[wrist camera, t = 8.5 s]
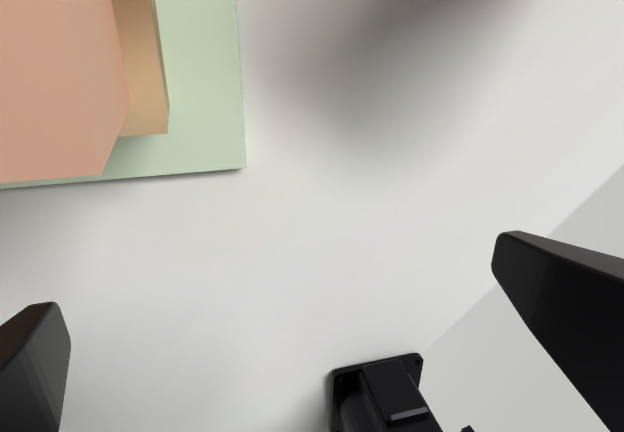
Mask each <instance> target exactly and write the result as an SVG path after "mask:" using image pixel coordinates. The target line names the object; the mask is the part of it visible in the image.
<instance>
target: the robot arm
mask: <svg viewBox="0 0 624 432" xmlns="http://www.w3.org/2000/svg"><path fill="white" fill-rule="evenodd" d="M491 268H492V272H493V275H494V277H495V278H496V280H497V281H498V283H499V284H500V286H501V287H502V289H503V290H504V292H505V293H506V295H507V296H508V298H509V300H510V301H511V303H512V304H513V306H514V307H515V309H516V310H517V312H518V313H519V315H520V316H521V318H522V320H523V321H524V323H525V324H526V325H527V327H528V328H529V330H530V331H531V332H532V334H533V335H534V336H535V338H536V339H537V340H538V341H539V343H540V344H541V345H542V346H543V348H544V349H545V350H546V351H547V353H548V354H549V355H550V356H551V358H552V359H553V360H554V361H555V363H556V364H557V365H558V366H559V368H560V369H561V370H562V372H563V373H564V374H565V375H566V377H567V378H568V379H569V380H570V382H571V383H572V384H573V385H574V387H575V388H576V389H577V390H578V392H579V393H580V394H581V395H582V397H583V398H584V399H585V400H586V402H587V403H588V404H589V405H590V407H591V408H592V409H593V410H594V412H595V413H596V414H597V415H598V417H599V418H600V419H601V420H602V422H603V423H604V424H605V425H606V427H607V428H608V429H609V430H610V432H624V259H622V258H619V257H615V256H611V255H607V254H604V253H600V252H596V251H592V250H589V249H585V248H581V247H577V246H574V245H570V244H567V243H563V242H559V241H555V240H552V239H548V238H544V237H541V236H537V235H533V234H529V233H526V232H522V231H509V232H503V233H501V234H499V235H498V237H497V239H496V243H495V248H494V253H493V258H492V263H491ZM70 351H71V341H70V336H69V333H68V330H67V327H66V324H65V321H64V319H63V316H62V313H61V310H60V307H59V306H58V304H57V303H55V302H45V303H38V304H32V305H29V306H27V307H26V308H24V309H23V310H22V311H20V312H19V313H18V314H16V315H15V316H13V317H12V318H11V319H9V320H8V321H7V322H5V323H4V324H2V325H1V326H0V432H58V431H59V426H60V421H61V415H62V408H63V400H64V393H65V386H66V379H67V372H68V365H69V358H70ZM422 366H423V358H422V357H421V355H420V354H419V353H413V354H408V355H403V356H398V357H394V358H389V359H384V360H379V361H374V362H369V363H365V364H360V365H355V366H350V367H345V368H340V369H337V370H335V371H334V372H333V373H332V377H331V399H330V420H329V432H443V431H442V430H441V427H440V426H439V424H438V422H437V421H436V419H435V417H434V416H433V414H432V412H431V410H430V409H429V407H428V405H427V403H426V401H425V400H424V398H423V396H422V394H421V393H420V391H419V390H418V388H419V382H420V377H421V371H422ZM461 430H462V431H461V432H474V431H473V429H472V428H471V426H470V425H469V426H467V427H465V428H463V429H461Z"/></svg>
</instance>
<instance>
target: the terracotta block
mask: <svg viewBox="0 0 624 432" xmlns="http://www.w3.org/2000/svg"><path fill="white" fill-rule="evenodd" d="M130 105H131V103H130V97H129V92H128V86H127V81H126V76H125V70H124V65H123V59H122V54H121V48H120V43H119V38H118V32H117V27H116V21H115V16H114V10H113V5H112V0H0V183H7V182H19V181H31V180H43V179H55V178H67V177H79V176H91V175H102V172H103V170H104V167H105V165H106V163H107V160H108V158H109V156H110V153H111V151H112V148H113V146H114V144H115V141H116V139H117V136H118V134H119V132H120V129H121V127H122V124H123V122H124V120H125V117H126V115H127V113H128V110H129V108H130Z"/></svg>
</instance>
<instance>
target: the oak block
mask: <svg viewBox="0 0 624 432" xmlns="http://www.w3.org/2000/svg"><path fill="white" fill-rule="evenodd" d="M112 5H113V10H114V16H115V21H116V27H117V32H118V38H119V43H120V48H121V54H122V59H123V65H124V70H125V76H126V81H127V86H128V92H129V97H130V103H131V105H130V108H129V110H128V113H127V115H126V117H125V120H124V122H123V124H122V127H121V129H120V132H119V134H118V136H117V137H124V136H140V135H155V134H168V122H169V110H170V103H169V96H168V89H167V82H166V75H165V67H164V60H163V53H162V46H161V39H160V32H159V25H158V18H157V11H156V4H155V0H112Z"/></svg>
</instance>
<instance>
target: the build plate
mask: <svg viewBox="0 0 624 432" xmlns="http://www.w3.org/2000/svg"><path fill="white" fill-rule="evenodd" d="M155 4H156V11H157V18H158V25H159V32H160V39H161V46H162V53H163V60H164V67H165V75H166V82H167V89H168V96H169V103H170V110H169V122H168V134H155V135H140V136H124V137H117V139H116V141H115V144H114V146H113V148H112V151H111V153H110V156H109V158H108V160H107V163H106V165H105V167H104V170H103V172H102V175H91V176H79V177H67V178H55V179H43V180H31V181H19V182H7V183H0V189H4V188H15V187H27V186H39V185H50V184H62V183H74V182H86V181H97V180H109V179H121V178H133V177H144V176H156V175H168V174H180V173H191V172H203V171H215V170H226V169H238V168H247V161H246V145H245V129H244V113H243V97H242V81H241V65H240V49H239V33H238V17H237V1H236V0H155Z"/></svg>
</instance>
